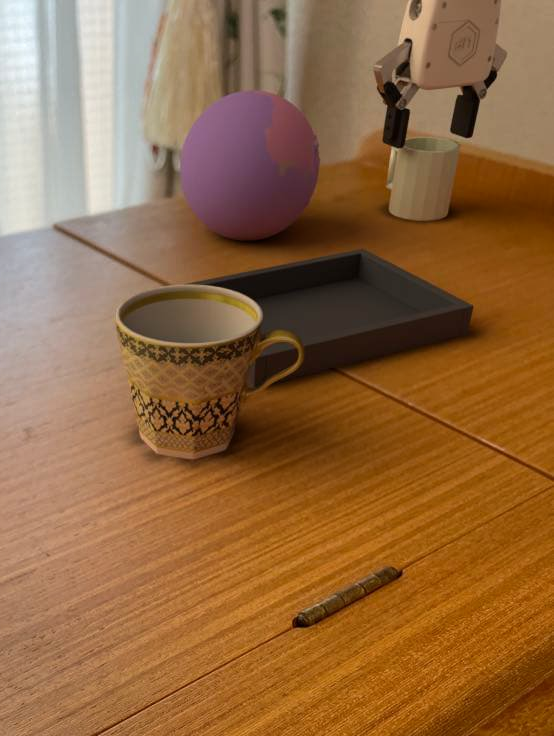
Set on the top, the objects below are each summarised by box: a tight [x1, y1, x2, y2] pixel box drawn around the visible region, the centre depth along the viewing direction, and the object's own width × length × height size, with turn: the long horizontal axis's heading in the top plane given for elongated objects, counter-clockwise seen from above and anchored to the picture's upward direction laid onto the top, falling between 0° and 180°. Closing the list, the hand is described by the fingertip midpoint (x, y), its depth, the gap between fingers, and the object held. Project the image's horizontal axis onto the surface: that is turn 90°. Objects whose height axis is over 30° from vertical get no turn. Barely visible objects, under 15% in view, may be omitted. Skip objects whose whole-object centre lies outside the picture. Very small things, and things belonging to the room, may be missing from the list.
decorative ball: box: [179, 89, 321, 242], centre depth 94 cm, size 15×15×15 cm
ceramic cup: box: [114, 283, 305, 460], centre depth 61 cm, size 13×10×10 cm
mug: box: [385, 136, 462, 222], centre depth 103 cm, size 10×7×8 cm
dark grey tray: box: [181, 248, 475, 388], centre depth 79 cm, size 22×16×3 cm
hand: (427, 140), depth 99 cm, fingers open, 9 cm apart
